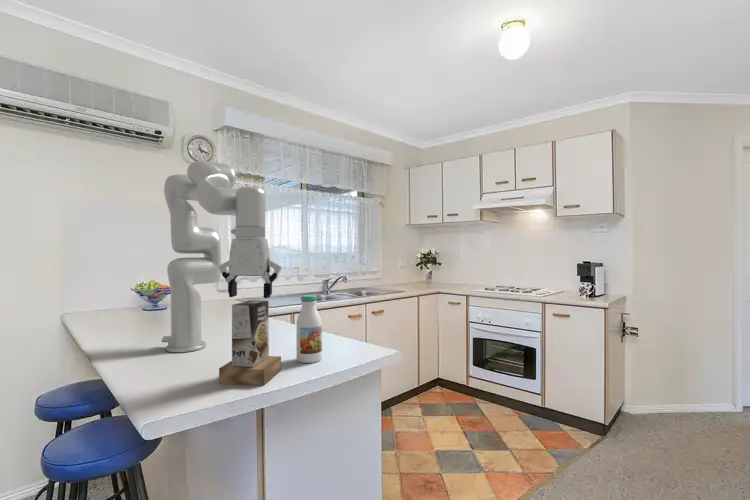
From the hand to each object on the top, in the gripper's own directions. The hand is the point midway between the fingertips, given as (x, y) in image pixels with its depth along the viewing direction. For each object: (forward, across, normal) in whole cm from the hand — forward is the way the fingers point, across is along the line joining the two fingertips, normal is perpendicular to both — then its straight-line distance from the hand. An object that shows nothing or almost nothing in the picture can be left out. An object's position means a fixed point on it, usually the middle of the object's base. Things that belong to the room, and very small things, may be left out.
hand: (249, 297), depth 105 cm
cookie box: (+18, +1, -1) cm, 18 cm away
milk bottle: (+22, +12, +16) cm, 30 cm away
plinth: (+22, +1, -1) cm, 22 cm away
